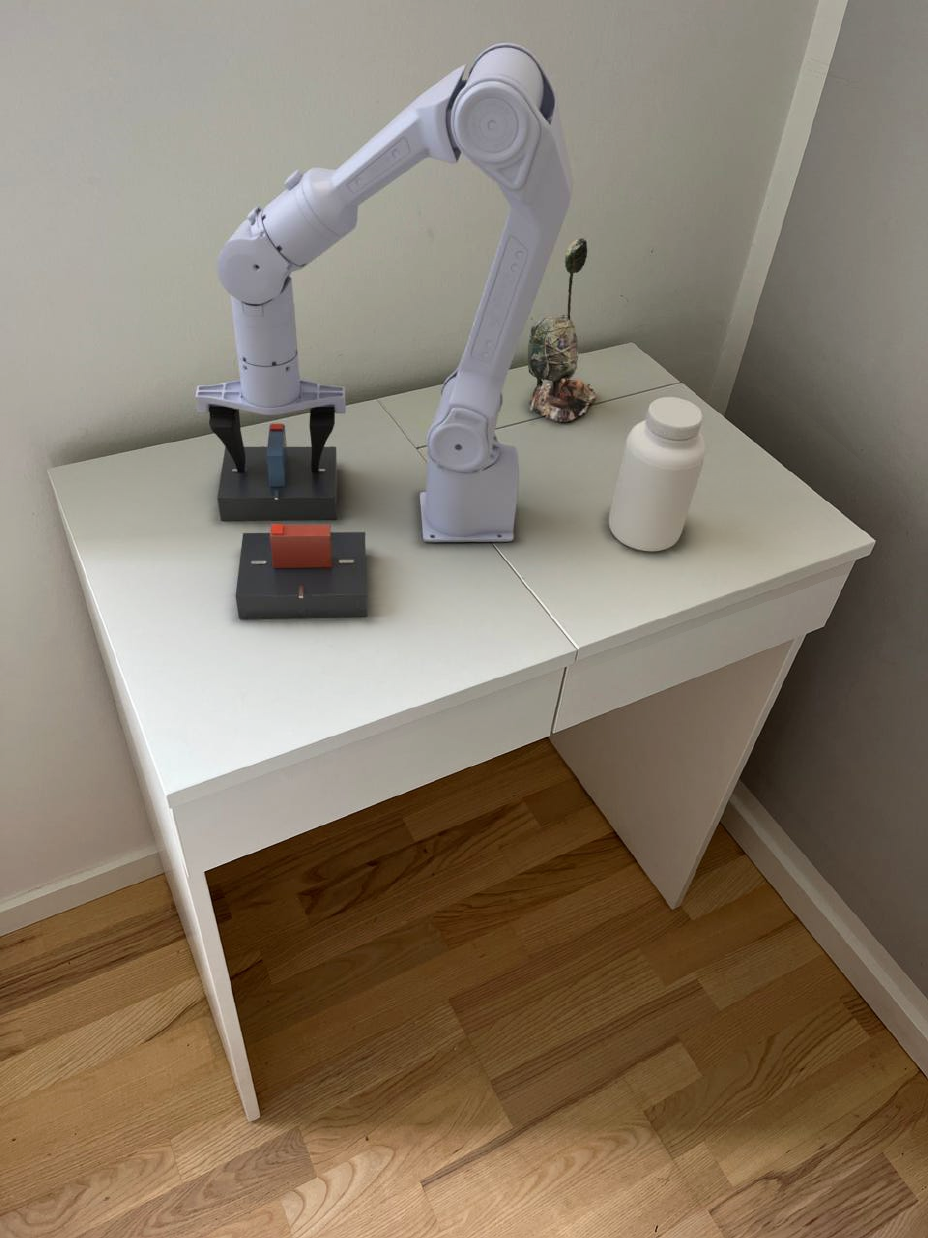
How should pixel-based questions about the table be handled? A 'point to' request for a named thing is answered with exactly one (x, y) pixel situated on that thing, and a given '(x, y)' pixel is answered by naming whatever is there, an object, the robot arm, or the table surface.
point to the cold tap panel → (294, 501)
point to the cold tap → (277, 455)
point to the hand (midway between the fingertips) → (278, 466)
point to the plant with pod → (559, 356)
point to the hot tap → (301, 546)
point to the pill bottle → (658, 476)
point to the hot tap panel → (302, 581)
